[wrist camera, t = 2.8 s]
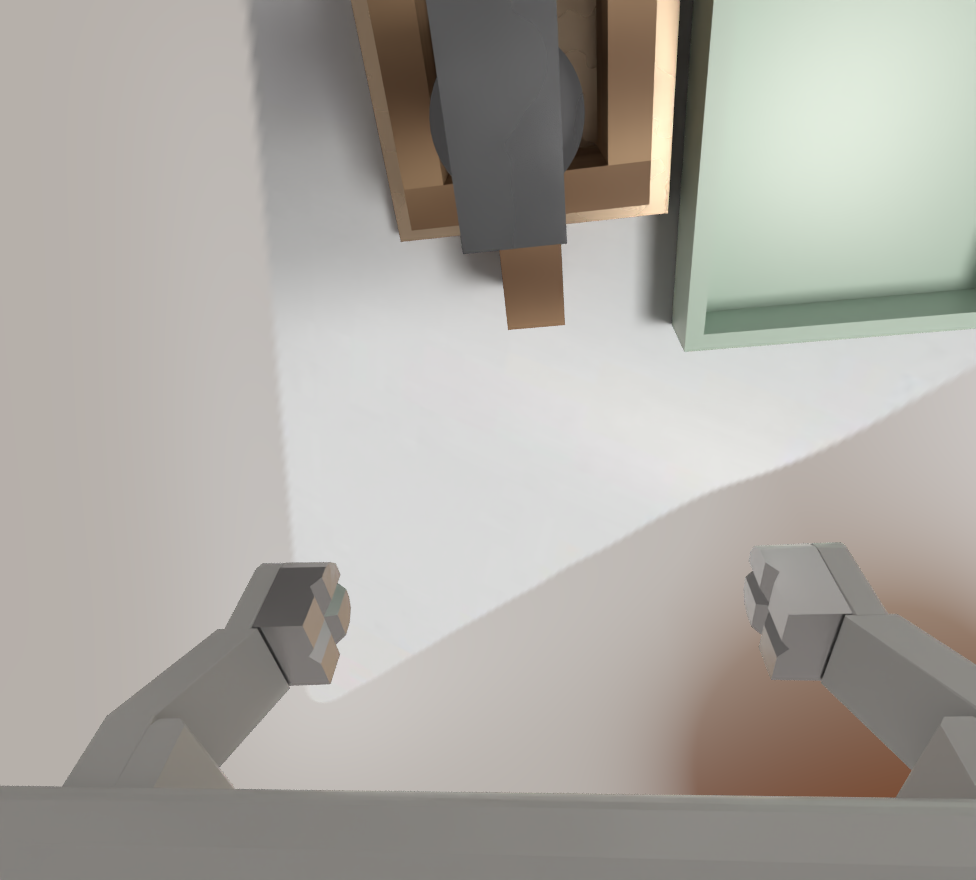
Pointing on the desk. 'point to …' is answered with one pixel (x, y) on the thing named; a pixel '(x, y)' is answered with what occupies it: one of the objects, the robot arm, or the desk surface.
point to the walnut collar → (587, 181)
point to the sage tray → (827, 172)
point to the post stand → (518, 115)
